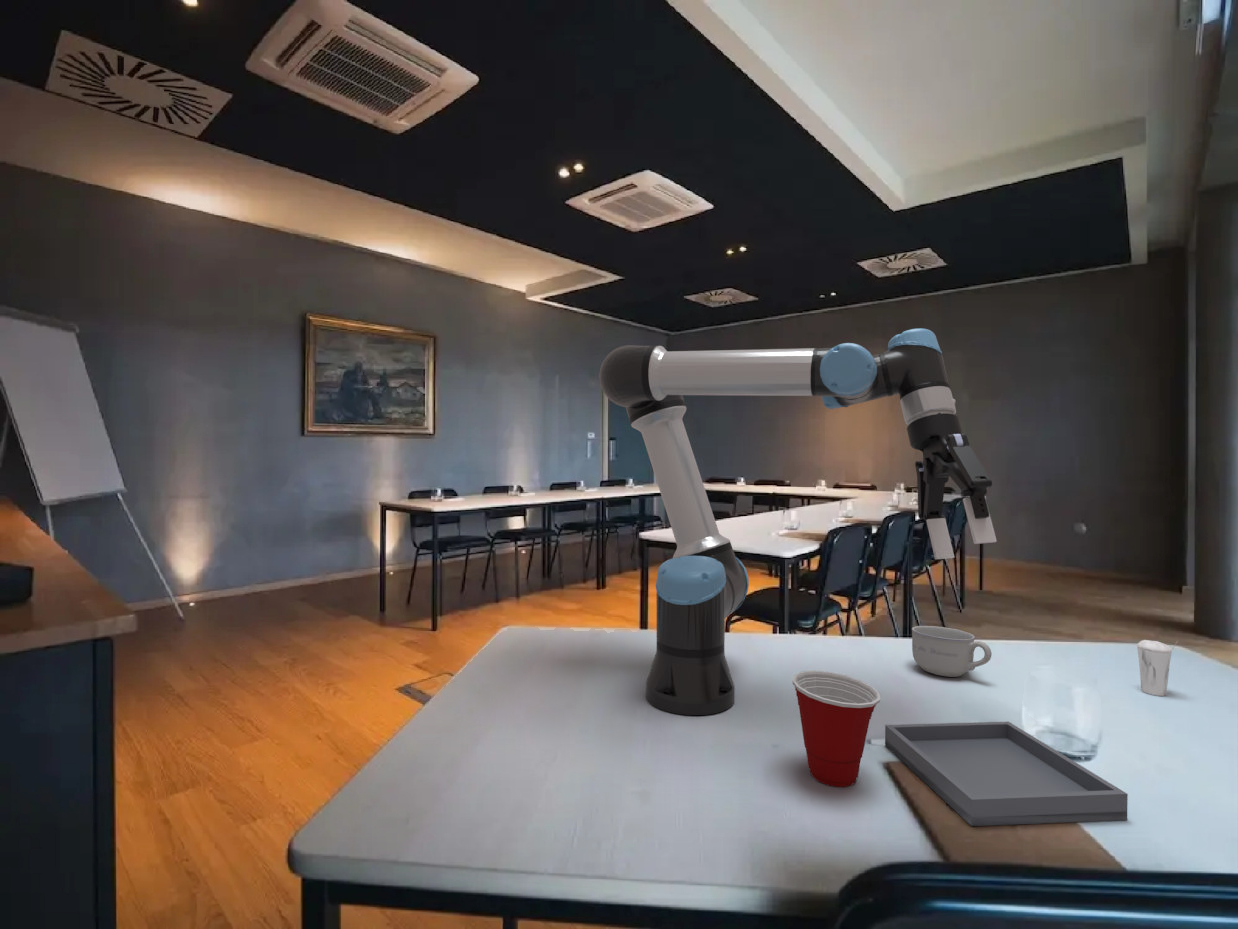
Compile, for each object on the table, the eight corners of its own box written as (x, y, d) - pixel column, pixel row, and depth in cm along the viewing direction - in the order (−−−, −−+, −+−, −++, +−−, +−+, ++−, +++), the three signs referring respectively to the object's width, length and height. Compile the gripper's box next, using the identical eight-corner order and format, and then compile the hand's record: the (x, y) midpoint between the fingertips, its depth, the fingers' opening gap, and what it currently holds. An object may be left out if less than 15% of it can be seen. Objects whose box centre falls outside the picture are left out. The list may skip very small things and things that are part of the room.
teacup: (899, 666, 117) (899, 626, 117) (937, 659, 122) (937, 620, 121) (964, 692, 104) (964, 647, 104) (1004, 683, 109) (1005, 640, 109)
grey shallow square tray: (971, 826, 66) (971, 799, 66) (885, 745, 84) (885, 725, 84) (1127, 820, 67) (1127, 794, 67) (1008, 742, 86) (1008, 721, 86)
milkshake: (1175, 701, 101) (1176, 643, 101) (1134, 692, 105) (1135, 636, 105) (1179, 694, 104) (1179, 638, 104) (1138, 685, 108) (1139, 631, 108)
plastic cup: (889, 804, 70) (890, 704, 70) (795, 793, 72) (796, 696, 72) (870, 759, 81) (870, 672, 81) (788, 751, 83) (788, 666, 83)
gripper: (993, 384, 83) (1036, 532, 76) (925, 444, 106) (954, 562, 100) (938, 389, 83) (976, 536, 77) (883, 448, 107) (908, 565, 100)
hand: (963, 551), depth 88 cm, fingers open, 13 cm apart
